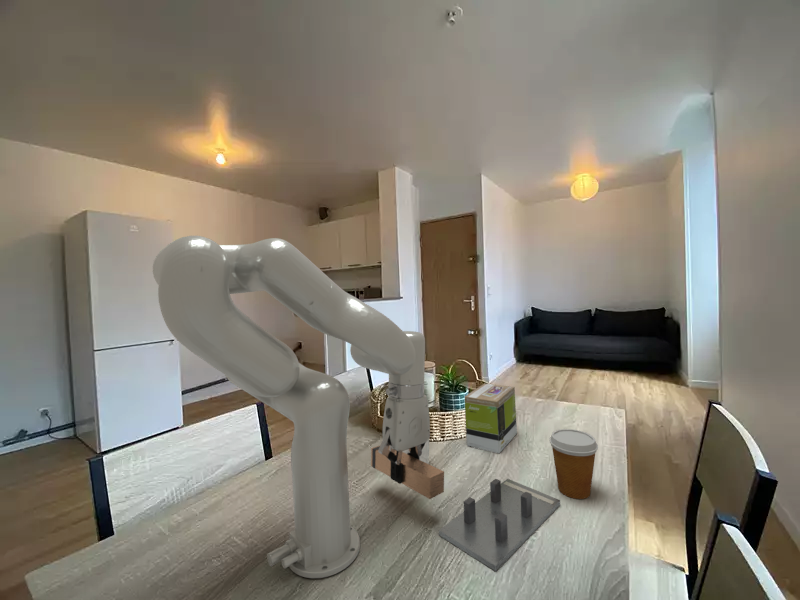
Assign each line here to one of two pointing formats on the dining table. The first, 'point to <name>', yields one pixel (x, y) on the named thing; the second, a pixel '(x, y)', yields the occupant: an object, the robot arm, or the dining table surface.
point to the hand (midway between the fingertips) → (404, 476)
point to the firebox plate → (499, 521)
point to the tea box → (490, 417)
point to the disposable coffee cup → (574, 461)
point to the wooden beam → (412, 473)
